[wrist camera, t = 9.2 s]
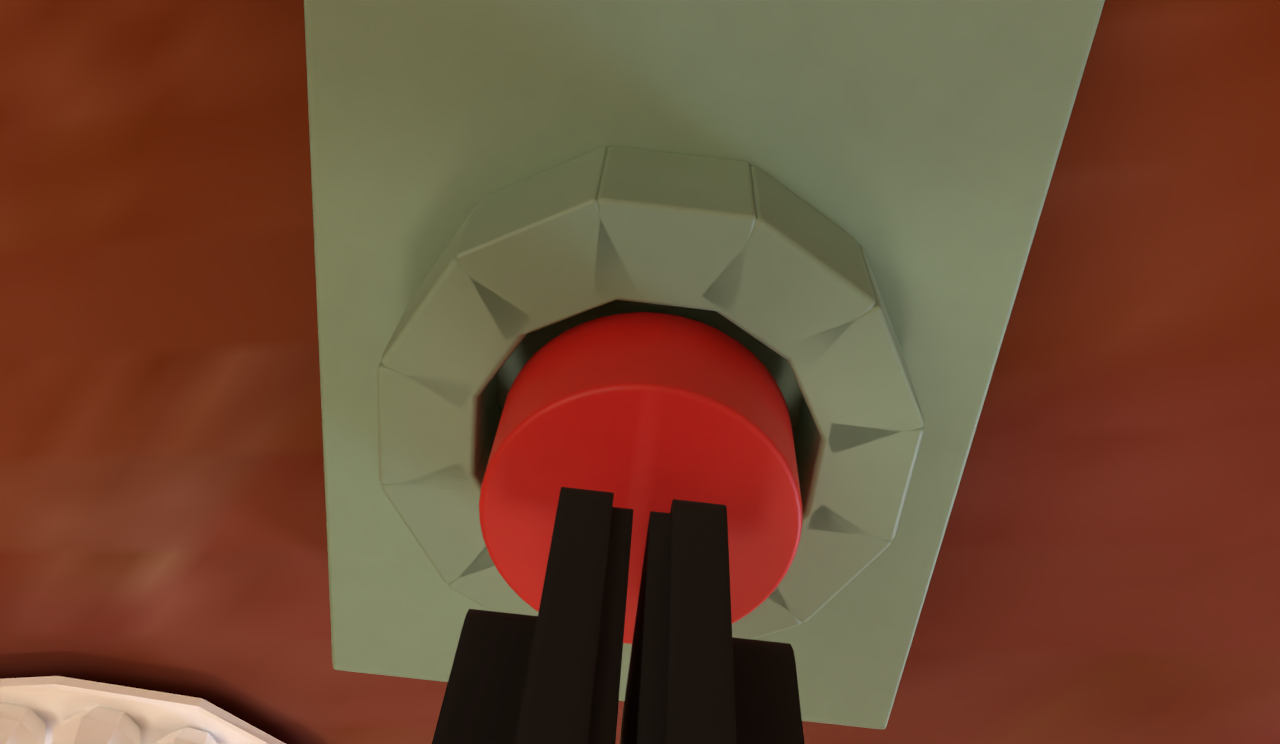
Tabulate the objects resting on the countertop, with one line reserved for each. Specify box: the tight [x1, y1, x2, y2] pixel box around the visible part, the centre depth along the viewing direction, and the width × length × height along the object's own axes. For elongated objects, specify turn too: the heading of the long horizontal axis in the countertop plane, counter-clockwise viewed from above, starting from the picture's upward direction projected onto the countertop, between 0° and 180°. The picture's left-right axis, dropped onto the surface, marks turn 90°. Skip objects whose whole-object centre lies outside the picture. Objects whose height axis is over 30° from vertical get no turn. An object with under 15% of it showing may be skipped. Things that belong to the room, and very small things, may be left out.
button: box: [479, 312, 803, 644], centre depth 13 cm, size 4×4×2 cm
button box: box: [304, 0, 1105, 729], centre depth 15 cm, size 12×9×4 cm
